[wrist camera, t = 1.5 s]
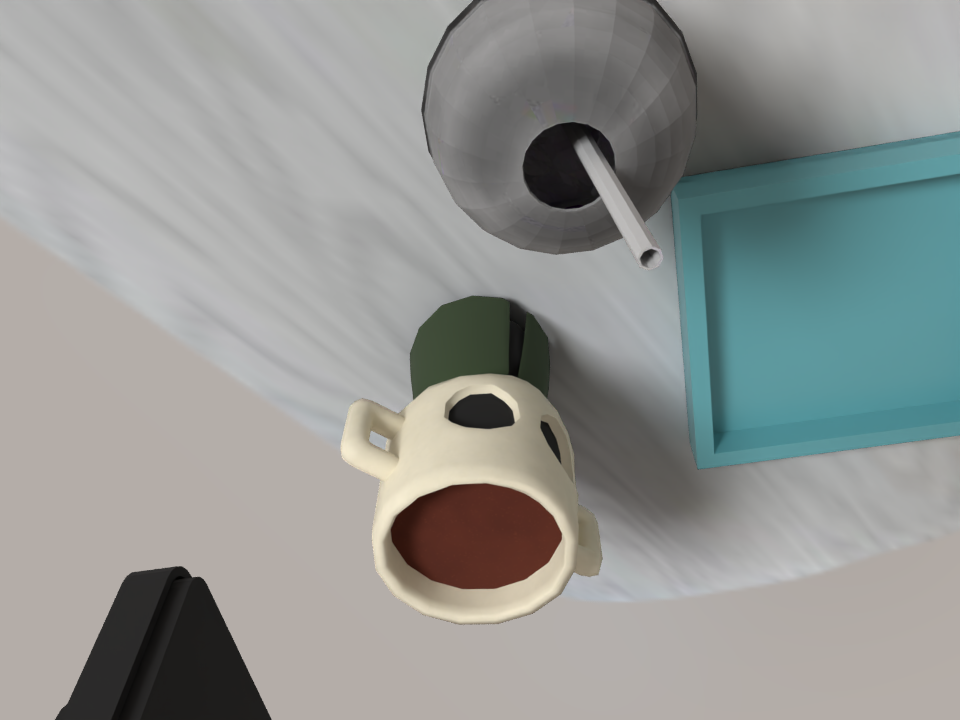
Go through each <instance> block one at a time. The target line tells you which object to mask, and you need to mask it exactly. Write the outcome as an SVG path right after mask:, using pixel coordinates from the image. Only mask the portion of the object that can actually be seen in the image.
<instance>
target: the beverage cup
mask: <svg viewBox="0 0 960 720" xmlns="http://www.w3.org/2000/svg"><path fill="white" fill-rule="evenodd" d="M421 111H422V116H423V122H424V128H425V134H426V139H427V145H428V151H429V153H430V155H431V157H432V159H433V161H434V164H435V166H436V168H437V170H438V171H439V173H440V175H441V177H442V179H443V181H444V183H445V185H446V186H447V188H448V190H449V192H450V194H451V196H452V198H453V200H454V201H455V203H456V204H457V205H458V206H459V207H460V208H461V209H462V210H463V211H464V212H465V213H466V214H467V215H468V216H469V217H470V218H471V219H473V220H474V221H475V222H476V223H477V224H478V225H479V226H480V227H481V228H482V229H483V230H485V231H486V232H488V233H490V234H492V235H494V236H496V237H498V238H500V239H502V240H504V241H506V242H508V243H510V244H512V245H514V246H516V247H518V248H520V249H526V250H532V251H538V252H543V253H549V254H555V255H557V254H566V253H574V252H583V251H591V250H595V249H597V248H600V247H602V246H604V245H607V244H609V243H612V242H614V241H616V240H619V239H621V238H624V240H625V242H626V243H627V245H628V247H629V249H630V251H631V252H632V254H633V256H634V258H635V260H636V261H637V263H638V265H639V267H640V268H643V269H646V270H648V271H649V270H651V269H654V268H657V267H659V265H660V263H661V262H662V260H663V255H662V251H661V249H660V247H659V246H658V244H657V242H656V241H655V239H654V237H653V236H652V234H651V232H650V231H649V229H648V227H647V226H646V224H645V223H644V222H645V221H647V220H648V219H649V218H650V217H652V216H653V215H654V214H655V213H657V212H658V210H659V209H660V207H661V206H662V204H663V203H664V202H665V200H666V199H667V197H668V196H669V194H670V193H671V191H672V190H673V189H674V187H675V186H676V184H677V183H678V181H679V180H680V178H681V177H682V176H683V173H684V170H685V167H686V164H687V161H688V158H689V154H690V151H691V148H692V145H693V142H694V139H695V134H696V119H697V73H696V70H695V67H694V65H693V62H692V59H691V56H690V53H689V51H688V48H687V45H686V42H685V39H684V36H683V34H682V31H681V30H680V29H679V28H678V27H677V25H676V24H675V23H674V22H673V20H672V19H671V18H670V17H669V15H668V14H667V13H666V12H665V11H664V9H663V8H662V7H661V6H660V4H659V3H658V2H657V1H656V0H473V1H472V2H471V3H470V4H469V5H468V6H467V7H466V8H465V9H464V10H463V11H462V12H461V13H460V14H459V15H458V16H457V17H456V19H455V20H454V21H453V22H452V23H451V24H450V25H449V26H448V27H447V29H446V31H445V33H444V35H443V37H442V39H441V41H440V43H439V45H438V47H437V49H436V51H435V53H434V55H433V57H432V59H431V61H430V63H429V65H428V68H427V75H426V81H425V88H424V95H423V102H422V109H421Z"/></svg>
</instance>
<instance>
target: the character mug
mask: <svg viewBox="0 0 960 720" xmlns="http://www.w3.org/2000/svg"><path fill="white" fill-rule="evenodd" d="M410 370H411V383H412V391H413V401H412V402H411V403H410V404H409V405H408V406H406V407H405V408H404V409H403V410H402V411H401V412H400V413H398V414H397V413H395V412H393V411H391V410H389V409H387V408H385V407H383V406H381V405H379V404H377V403H375V402H373V401H371V400H367V399H363V398H362V399H359V400H357V401H355V402H354V403H353V404H352V405H351V406H350V407H349V411H348V415H347V419H346V424H345V428H344V432H343V437H342V441H341V455H342V459H343V460H344V461H346V462H347V463H348V464H350V465H351V466H352V467H354V468H356V469H359V470H361V471H363V472H365V473H367V474H369V475H371V476H373V477H375V478H377V479H380V485H379V491H378V497H377V504H376V510H375V515H374V522H373V528H372V544H373V552H374V560H375V567H376V571H377V572H378V574H379V575H380V577H381V578H382V580H383V581H384V583H385V584H386V585H387V587H388V588H389V590H390V591H391V593H392V594H393V596H395V597H396V598H398V599H399V600H401V601H403V602H404V603H405V604H407V605H408V606H410V607H412V608H413V609H415V610H416V611H418V612H419V613H421V614H422V615H425V616H429V617H433V618H436V619H440V620H444V621H448V622H451V623H455V624H460V625H462V624H499V623H503V622H506V621H509V620H513V619H516V618H520V617H523V616H526V615H530V614H533V613H535V612H536V611H537V610H539V609H540V608H542V607H543V606H545V605H546V604H547V603H549V602H550V601H552V600H553V599H555V598H556V597H558V596H559V595H560V594H561V593H562V592H563V590H564V588H565V586H566V585H567V583H568V581H569V579H570V578H571V576H572V574H573V573H574V572H575V573H577V574H579V575H582V576H588V577H590V576H595V575H598V574H599V570H600V566H601V562H602V559H603V558H602V551H601V543H600V536H599V529H598V523H597V520H596V518H595V516H594V514H593V513H591V512H590V511H589V510H588V509H586V508H585V507H583V506H581V505H579V504H578V493H577V490H576V482H575V471H574V452H573V449H572V445H571V442H570V438H569V434H568V432H567V430H566V428H565V426H564V424H563V422H562V420H561V418H560V416H559V414H558V412H557V410H556V409H555V408H554V407H553V405H552V404H551V403H550V402H549V401H548V400H547V395H548V390H549V373H550V359H549V347H548V337H547V336H546V334H545V333H544V331H543V330H542V328H541V327H540V325H539V323H538V322H537V320H536V319H535V317H534V316H533V315H532V314H530V313H528V312H527V314H526V325H525V332H524V331H523V330H522V329H521V328H520V327H519V326H518V325H517V324H516V323H515V322H513V321H510V302H508V301H507V300H505V299H503V298H494V297H482V296H470V297H467V298H464V299H460V300H457V301H454V302H451V303H448V304H445V305H442V306H441V307H440V308H439V309H438V310H437V311H436V312H435V313H434V314H433V315H432V316H431V317H430V318H429V319H428V320H427V321H426V322H425V323H424V324H423V325H422V326H421V327H420V328H419V330H418V333H417V336H416V338H415V341H414V344H413V347H412V349H411V352H410ZM371 431H373V432H376V433H378V434H380V435H382V436H384V437H386V438H388V439H387V442H386V448H385V450H383V449H381V448H379V447H377V446H375V445H373V444H372V443H370V442H369V437H370V432H371Z"/></svg>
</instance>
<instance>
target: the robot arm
mask: <svg viewBox="0 0 960 720" xmlns="http://www.w3.org/2000/svg"><path fill="white" fill-rule="evenodd" d="M55 720H271V717H270V715H269V713H268V711H267V709H266V707H265V705H264V703H263V701H262V699H261V697H260V695H259V692H258V690H257V688H256V686H255V684H254V682H253V680H252V678H251V676H250V674H249V672H248V669H247V668H246V665H245V663H244V661H243V659H242V657H241V655H240V653H239V651H238V649H237V646H236V644H235V642H234V640H233V638H232V636H231V634H230V632H229V630H228V628H227V626H226V624H225V621H224V619H223V617H222V615H221V613H220V611H219V609H218V607H217V605H216V603H215V600H214V599H213V596H212V594H211V592H210V590H209V588H208V586H207V584H206V582H205V581H204V579H202V578H201V577H193V578H192V577H191V575H190V574H189V572H188V571H187V570H186V569H185V568H183V567H181V566H179V567H170V568H162V569H155V570H147V571H140V572H132V573H131V574H129V575H128V576H127V577H126V578H125V580H124V582H123V583H122V585H121V587H120V589H119V591H118V594H117V596H116V598H115V600H114V602H113V605H112V607H111V609H110V611H109V614H108V616H107V618H106V620H105V622H104V624H103V627H102V629H101V631H100V633H99V636H98V638H97V640H96V642H95V644H94V647H93V649H92V651H91V654H90V655H89V658H88V660H87V662H86V664H85V667H84V669H83V671H82V673H81V675H80V677H79V680H78V682H77V684H76V686H75V688H74V691H73V693H72V695H71V698H70V700H69V702H68V704H67V705H66V706H65V707H63V708H62V709H61V711H60V712H59V714H58V716H57V717H56V719H55Z"/></svg>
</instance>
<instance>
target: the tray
mask: <svg viewBox="0 0 960 720" xmlns="http://www.w3.org/2000/svg"><path fill="white" fill-rule="evenodd" d="M671 205H672V218H673V231H674V244H675V257H676V270H677V283H678V296H679V309H680V322H681V335H682V348H683V361H684V374H685V387H686V400H687V413H688V426H689V439H690V445H691V448H692V451H693V455H694V458H695V462H696V465H697V469H706V468H713V467H721V466H729V465H736V464H744V463H752V462H759V461H767V460H775V459H782V458H790V457H797V456H805V455H813V454H820V453H828V452H836V451H843V450H851V449H859V448H866V447H874V446H882V445H889V444H897V443H905V442H912V441H920V440H928V439H935V438H943V437H951V436H958V435H960V131H959V132H953V133H946V134H940V135H934V136H928V137H922V138H916V139H910V140H904V141H898V142H892V143H886V144H880V145H874V146H868V147H862V148H856V149H850V150H844V151H838V152H831V153H825V154H819V155H813V156H807V157H801V158H795V159H789V160H783V161H777V162H771V163H765V164H759V165H753V166H747V167H741V168H735V169H729V170H722V171H716V172H710V173H704V174H698V175H692V176H686V177H681V178H680V180H679V181H678V183H677V184H676V186H675V187H674V189H673V190H672V191H671Z"/></svg>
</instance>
